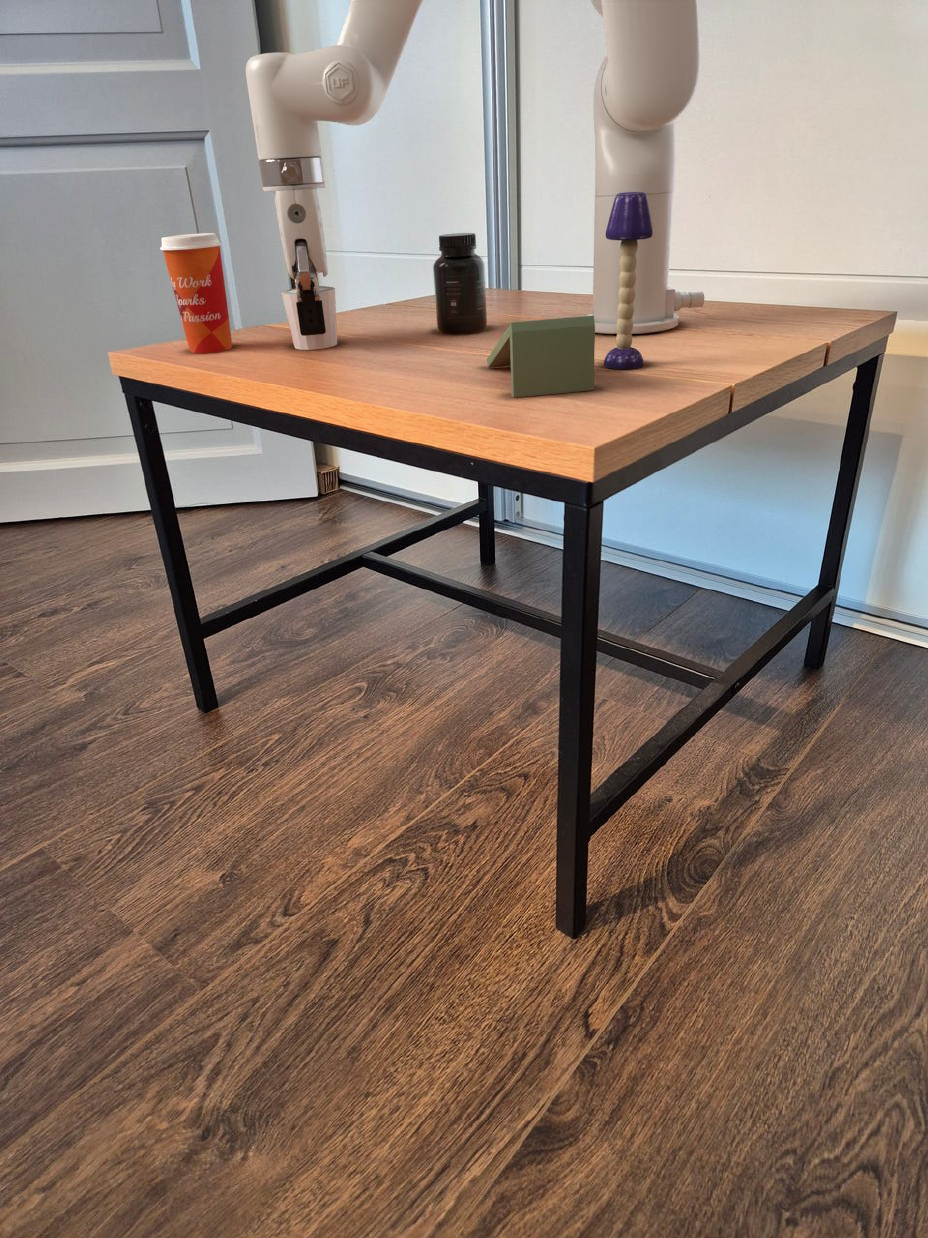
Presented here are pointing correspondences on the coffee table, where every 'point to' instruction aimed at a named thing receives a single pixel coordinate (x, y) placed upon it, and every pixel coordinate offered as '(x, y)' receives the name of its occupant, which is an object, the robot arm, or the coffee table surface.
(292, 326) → the white faceted cup
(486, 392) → the coffee table surface
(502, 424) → the coffee table surface
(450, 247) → the supplement bottle
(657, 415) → the coffee table surface
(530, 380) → the green tent sign
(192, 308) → the paper cup
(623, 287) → the toy lamp
